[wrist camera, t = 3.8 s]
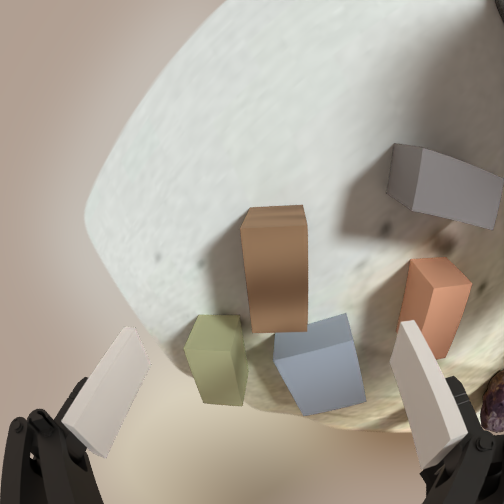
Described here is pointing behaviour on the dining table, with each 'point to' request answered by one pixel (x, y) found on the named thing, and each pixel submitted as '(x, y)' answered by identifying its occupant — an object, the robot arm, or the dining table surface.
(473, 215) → the charcoal block
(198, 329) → the olive block
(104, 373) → the robot arm
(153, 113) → the dining table surface
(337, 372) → the slate slab
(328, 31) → the dining table surface
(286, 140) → the dining table surface
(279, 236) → the walnut block
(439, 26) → the dining table surface
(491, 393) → the rock
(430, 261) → the terracotta block
